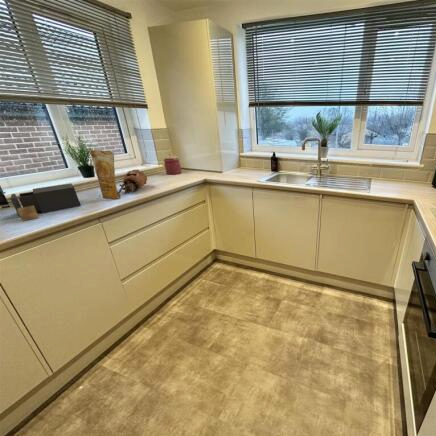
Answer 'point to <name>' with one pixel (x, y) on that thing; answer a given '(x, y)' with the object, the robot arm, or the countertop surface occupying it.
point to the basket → (23, 201)
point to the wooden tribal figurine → (133, 181)
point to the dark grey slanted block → (56, 198)
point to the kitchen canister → (172, 165)
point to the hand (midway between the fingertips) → (6, 207)
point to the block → (28, 213)
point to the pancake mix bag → (105, 172)
